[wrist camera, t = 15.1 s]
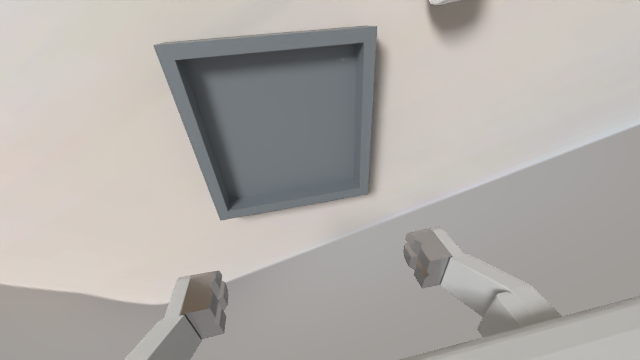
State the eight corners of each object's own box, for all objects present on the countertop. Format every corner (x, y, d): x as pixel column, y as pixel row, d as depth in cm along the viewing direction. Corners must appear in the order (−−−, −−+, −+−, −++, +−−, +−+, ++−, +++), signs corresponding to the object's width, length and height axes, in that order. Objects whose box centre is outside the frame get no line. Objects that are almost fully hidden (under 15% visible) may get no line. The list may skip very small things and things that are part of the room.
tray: (365, 25, 21) (377, 26, 19) (360, 181, 30) (367, 194, 28) (164, 42, 19) (153, 45, 17) (223, 205, 28) (220, 220, 26)
